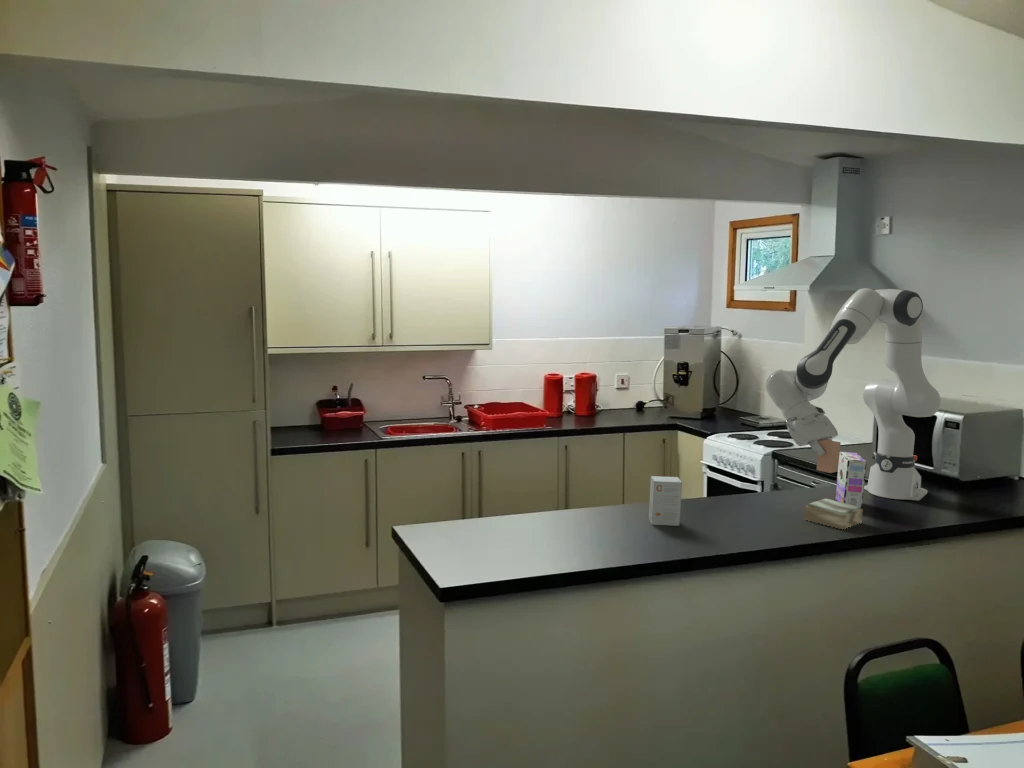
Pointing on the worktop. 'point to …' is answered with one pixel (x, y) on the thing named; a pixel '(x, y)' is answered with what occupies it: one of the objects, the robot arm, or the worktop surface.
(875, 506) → the worktop surface
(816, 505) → the birch plinth
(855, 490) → the candy box
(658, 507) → the small box
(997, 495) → the worktop surface
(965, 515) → the worktop surface
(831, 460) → the terracotta block
